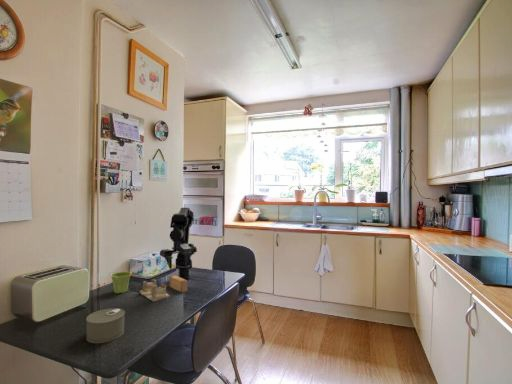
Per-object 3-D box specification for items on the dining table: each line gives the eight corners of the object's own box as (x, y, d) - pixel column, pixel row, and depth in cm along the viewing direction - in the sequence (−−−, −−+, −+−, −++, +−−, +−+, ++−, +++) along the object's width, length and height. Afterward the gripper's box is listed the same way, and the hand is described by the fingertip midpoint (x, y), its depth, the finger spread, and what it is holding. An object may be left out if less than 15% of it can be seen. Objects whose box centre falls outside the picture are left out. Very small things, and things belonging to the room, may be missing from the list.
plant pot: (105, 293, 134) (106, 275, 134) (121, 287, 143) (122, 270, 143) (119, 296, 131) (120, 278, 131) (135, 289, 140) (135, 273, 140)
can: (77, 339, 92) (77, 319, 92) (107, 323, 103) (108, 305, 103) (103, 346, 88) (104, 325, 88) (132, 329, 99) (132, 311, 99)
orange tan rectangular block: (169, 286, 146) (169, 276, 146) (174, 285, 148) (174, 274, 148) (182, 292, 137) (182, 281, 137) (187, 291, 139) (187, 280, 139)
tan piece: (139, 292, 135) (139, 281, 135) (155, 289, 141) (155, 278, 141) (153, 301, 125) (153, 289, 125) (169, 297, 131) (169, 285, 131)
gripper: (170, 242, 130) (169, 274, 130) (202, 237, 144) (202, 267, 144) (159, 239, 138) (159, 269, 138) (191, 235, 151) (190, 263, 151)
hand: (178, 267), depth 143 cm, fingers open, 9 cm apart
